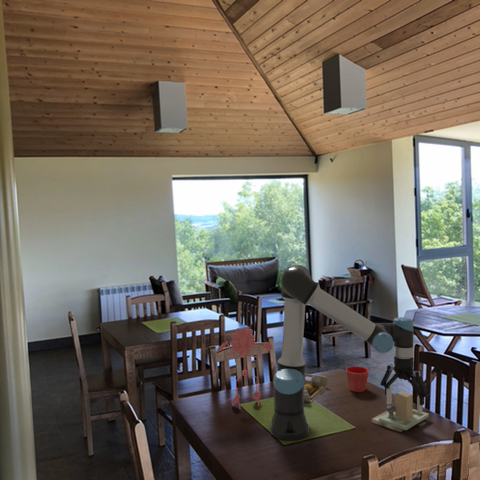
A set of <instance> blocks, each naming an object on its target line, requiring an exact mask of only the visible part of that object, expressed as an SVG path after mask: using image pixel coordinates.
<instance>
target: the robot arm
mask: <svg viewBox="0 0 480 480" xmlns="http://www.w3.org/2000/svg"><path fill="white" fill-rule="evenodd" d="M280 286H281V298H282V299H283V300H284V306H283V307H284V309H283V328H282V343H281V344H282V345H281V346H282V347H281V357H279V358H278V360H277V367H276V372H274V375H273V380H272V383H273V389H274V391H273V403H274V404H273V407H274V410H273V416H272V419H271V423H270V427H269V429H270V431H269V432H270V434H271V435H272V436H273V437H274V438H277V439H279V440H283V441H284V440H285V441H286V440H287V441H296V440H297V441H298V440H301V439H304V438H306V437H307V436H308V435H309V433H310V429H309V427H310V426H309V423H308V421H307V418H306V414H305V406H304V405H305V404H304V402H305V401H304V382H305V379H306V377H305V374H306V361H305V359H304V358H303V351H304V350H303V346H304V332H305V331H304V330H305V316H306V315H305V313H306V306H311V307H312V308H314V309H315V310H316V311H318V312H319V313H321V314H323V315H324V316H326V317H328V319H331V320H332V321H334V322H335V323H337V324H338V325H340V326H341V327H343V328H344V329H346V330H348V331H349V332H351V333H352V334H354V335H356V336H357V337H359V338H361V340H363V341H365V342H366V343H367V344H368V345H370V346H371V347H373V349H375V350H376V351H377V352H378V353H382V354H386V353H389V352H390V351H391V350H392V349H393V364H392V363H390V364H388V365H386V366H387V367H386V371H385V373H384V375H383V378H382V379H381V381H380V386H383V387H384V395H385V396H386V405H390V404H392V399H393V397H392V396H393V395H392V394H393V393H392V386H391V385H392V384H394V383H395V381H396V380H397V379H399V380H404V381H407V382H408V383H409V384H411V387H412V388H413V389H414V391H415V393H416V394H417V395H418V396H417V398H416V399H417V400H416V401H417V402H416V405H417V407H416V408H417V409H416V410H417V413H418V414H420V413H421V412H423V406H424V405H425V398H427V397H429V396H430V393H429V390H428V388H427V385H426V383H425V381H424V379H423V376H422V371H421V370H418V371H417V370H415V369H414V365H415V363H414V362H415V361H414V358H415V357H414V332H415V330H414V323H413V322H414V321H413V320H412V319H411V318H408V317H405V316H404V317H399V316H398V317H394V318H393V321H392V322H373V321H371V320H369V319H368V318H366V317H365V316H363V315H362V314H360V313H358V312H357V311H356V310H354V309H353V308H351V307H350V306H348V305H346V304H345V303H344V302H342V301H340V300H339V299H337V298H336V297H334V296H333V295H331V294H329V293H328V292H326V291H325V290H324V289H321V287H320V284H319V283H318V282H316V281H314V280H313V279H312V276H311V273H310V270H309V269H308V268H307V267H306V266H304V265H301V264H291V265H289V266H288V267H286V268H285V269H284V271H283V273H282V275H281V277H280ZM393 371H394V374H393V375H392V377H391V374H392V372H393ZM390 377H391V378H390ZM389 378H390V379H389Z"/></svg>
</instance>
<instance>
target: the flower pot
mask: <svg viewBox="0 0 480 480" xmlns="http://www.w3.org/2000/svg"><path fill="white" fill-rule="evenodd" d="M345 371H346V373H345V374H346V378H347V384H348V389H349V391H351V392H358V393H362V392H365V391H366V389H367V384H368V383H367V382H368V378H369V377H368V376H369V369H368V368H366V367H363V366H354V365H353V366H348V367H347V368H345Z"/></svg>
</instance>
